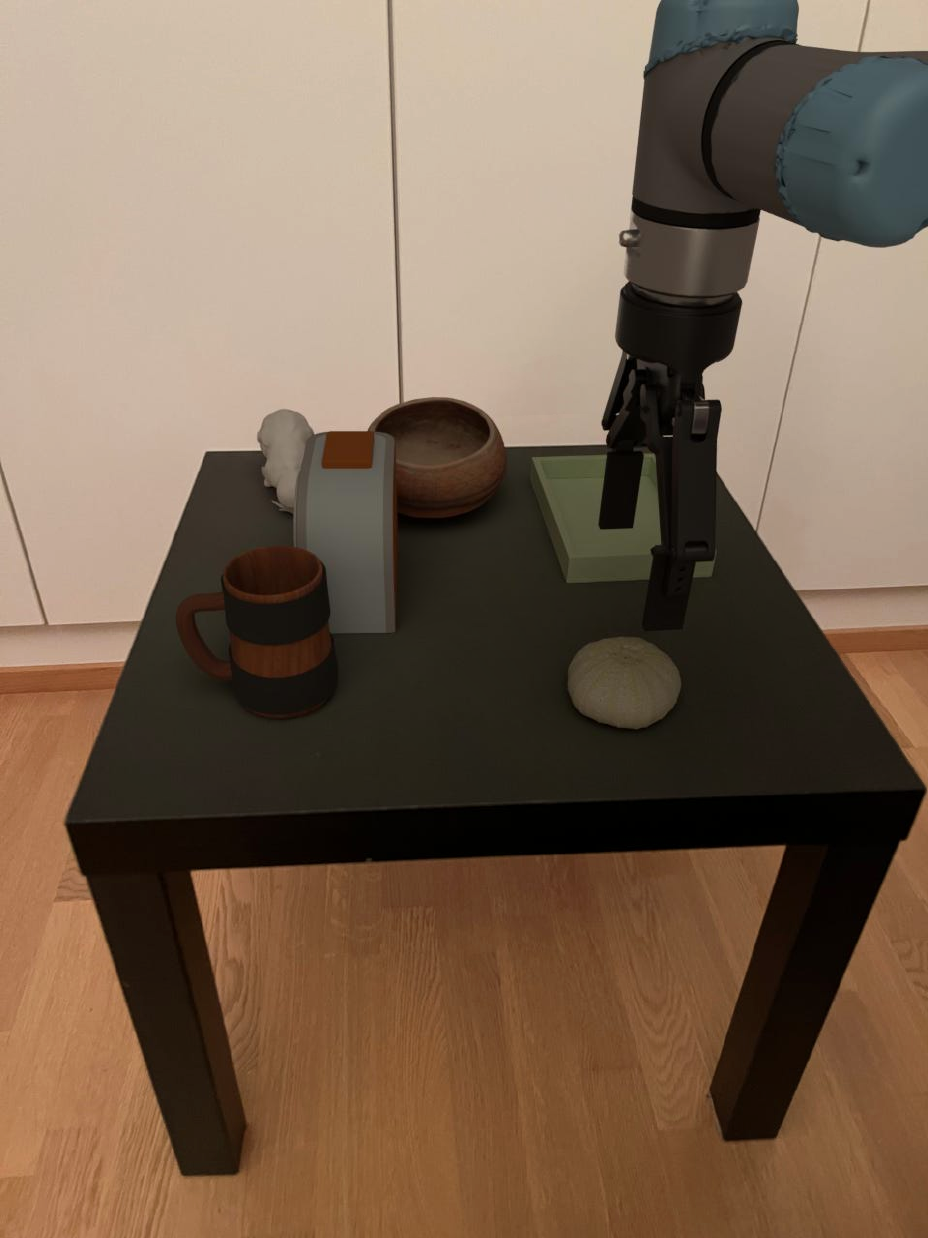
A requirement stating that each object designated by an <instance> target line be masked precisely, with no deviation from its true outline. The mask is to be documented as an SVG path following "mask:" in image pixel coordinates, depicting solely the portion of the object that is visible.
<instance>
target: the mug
mask: <svg viewBox="0 0 928 1238" xmlns="http://www.w3.org/2000/svg"><path fill="white" fill-rule="evenodd" d="M220 583H221V589H222V591H219V592H218V591H217V592H209V593H207V592H206V593H196V594H192V595H189V596H187V597H185V599H183V600H182V601H180V604H179V605H178V607H177V608H176V613H175V626H176V630H177V634H178V636H179V639H180V642H181V644H182V646H183V647H184V650H185V651H186V653H187V655H188V656H189V658H190V660H191V661H192V662H193V664H195V666H196V667H197V668H198V669H199V670H200V671H201V672H203V673H204V674H206V675H207V676H209V677H210V678H213V679H216V680H220V681H231V683H232V691H233V693H234V696H235V697H236V699H237V701H239V702H240V704H241V705H243V706H244V707H245V708H246V709H248V710H249V711H250V712H252V713H254V714H256V715H258V716H260V717H264V718H268V719H275V720H276V719H277V720H278V719H279V720H282V719H283V720H284V719H285V720H286V719H293V718H297V717H298V718H299V717H302V716H305V715H308V714H310V713H312V712H314V711H316V710H317V709H319V708H321V706H323V705H324V704H325V703H326V702H327V701H328V700H329V698H330V696H331V695H332V694H333V693H334V691H335V690H336V687H337V686H338V682H339V667H338V658H337V652H336V646H335V640H334V637H333V633H330V631H329V621H328V620H329V617H330V612H331V611H330V603H329V595H328V587H327V576H326V568H325V566H324V564H323V563H322V562H321V561H320V560H319V559H318V558H317V556H315V555H314V554H313V553H311V552H309V551H307V550H304V549H301V548H297V547H294V546H291V545H268V546H262V547H257V548H253V549H249V550H246V551H245V552H244V551H243V552H242V553H240V554H238V555H237V556H234V557H233V558H232V559H230V561H228V563H227V564H226V565H225V567H224V569H223V571H222V574H221V576H220ZM217 611H218V612H219V611H224V612H225V624H226V627H227V629H228V633H229V638H230V639H229V640H230V644H229V647H228V657H229V659H228V660H222V659H219V658H217V656H215V654H213V652H212V651H211V650H210V649H209V647H208V646H207V644H206V643H205V640H204V639H203V637H202V636H201V633H200V632H199V629H198V626H197V622H196V617H195V614H197V613H203V612H217Z"/></svg>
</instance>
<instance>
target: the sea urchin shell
mask: <svg viewBox="0 0 928 1238" xmlns="http://www.w3.org/2000/svg"><path fill="white" fill-rule="evenodd" d="M567 669H568V671H567V684H566V685H567V691H568V695H569V697H570V699H571V702H572V704H573V707H574V708H575V709H577V711H578V712H579V713H580V714H581V715H583V716H584V717H587V718H589V719H592V720H594V721H596V722H597V723H598V724H599V723H600V724H603V725H604V724H606V725H609V726H612V727H614V728H615V727H616V728H618V729H631V730H632V729H633V730H639V729H643V728H645V729H646V728H648V727H649V726H651V725H652V724H655V723H657V722H658V721H660V720H663V719H664V717H666V715H667V714H668V713H669V712H670V711H671V710H672V709H673V708H674V707H675V704H677V701H678V698H679V694H680V692H681V687H682V686H683V685H682V680H681V678H682V677H681V675H680V670H678V669H679V668H678V667H677V666H676V664H675V663H674V661H673V660H672V657H669V654H666V653H665V651H662V650H661V649H660V648H658V646H656V645H655V644H653V643H652V642H649V641H646V640H645V639H644V638H642V637H636V636H622V635H620V636H618V637H617V636H616V637H608V638H602V639H600V640H598V641H593V642H589V643H587V644H586V645H584V646H583V647H582V648H581V649H580V650H577V652H576V653H575V655H574V656H573V659H572V660H571V662H570V664H569V666H568V667H567Z"/></svg>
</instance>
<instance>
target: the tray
mask: <svg viewBox="0 0 928 1238" xmlns="http://www.w3.org/2000/svg"><path fill="white" fill-rule="evenodd" d="M643 454H644V459H643V466H642V472H641V479H640V486H639V492H638V499H637V506H636V513H635V519H634V526H633V529H606V530H600V528H599V525H598V523H599V515H600V507H601V499H602V491H603V483H604V475H605V467H606V459H607V454H593V455H592V454H591V455H590V454H589V455H588V454H587V455H559V456H558V455H557V456H532V457H531V464H530V466H531V467H530V477H529V481H530V483H531V487H532V489H533V492H534V495H535V498H536V500H537V504H538V506H539V510H540V512H541V515H542V517H543V520H544V524H545V526H546V529H547V532H548V534H549V538H550V540H551V543H552V546H553V548H554V552H555V554H556V557H557V561H558V563H559V566H560V569H561V570H562V574H563V577H564V580H565V582H566V584H582V583H584V584H585V583H587V584H588V583H606V582H607V583H608V582H629V581H630V582H631V581H649V578H650V572H651V566H652V560H653V556H652V555H651V551H650V549H651V548H653V547H655V545H661V532H660V517H659V502H658V487H657V472H656V457H655V454H654V453H652V452H651V453H643ZM716 556H717V549H716V548H715V558H714V560H713V561H706V562H696V565H695V570H694V575H693V579H697V578H712V577H713V571H714V567H715V561H716Z"/></svg>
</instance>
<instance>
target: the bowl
mask: <svg viewBox="0 0 928 1238" xmlns="http://www.w3.org/2000/svg"><path fill="white" fill-rule="evenodd" d="M367 431H372V432H382V433H386V434H389V435H391V436H392V437H393V438H394V439H395V442H396V480H397V514H398V513H399V514H402V515H404V516H407V517H412V518H418V519H419V518H421V519H442V518H443V519H445V518H451V517H456V516H460V515H462V514H463V515H464V514H466V513H469V512H471V511H473V510H475V509H478V508H479V507H481V506H482V505H484V503H486V502H487V501H488V500H489V499H491V498H492V497H493V495H494V494H495V493H496V490H497V489H498V488H499V487H500V485H501V483H502V482H503V480H504V478H505V476H506V474H507V468H508V457H507V451H506V446H505V442H504V439H503V437H502V434H501V432H500V430H499V428H498V426H497V425H496V422H495V421H494V419H492V418H491V416H490V415H489V414H488V413H487V412H485V411H484V410H483V409H481V408H479V407H478V406H476V405H475V404H472V403H470V402H467V401H465V400H462V399H457V398H454V397H447V396H446V397H445V396H430V397H422V398H421V397H420V398H414V399H410V400H407V401H404V402H401V403H397V404H395V405H392V406H391V407H388V408H387V409H385V410H384V411H382V412H380V414H379V415H378V416H377V417H376V418H375V419H374V420H373V421H372V422H371V424H370V425H369V427H368V429H367Z"/></svg>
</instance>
